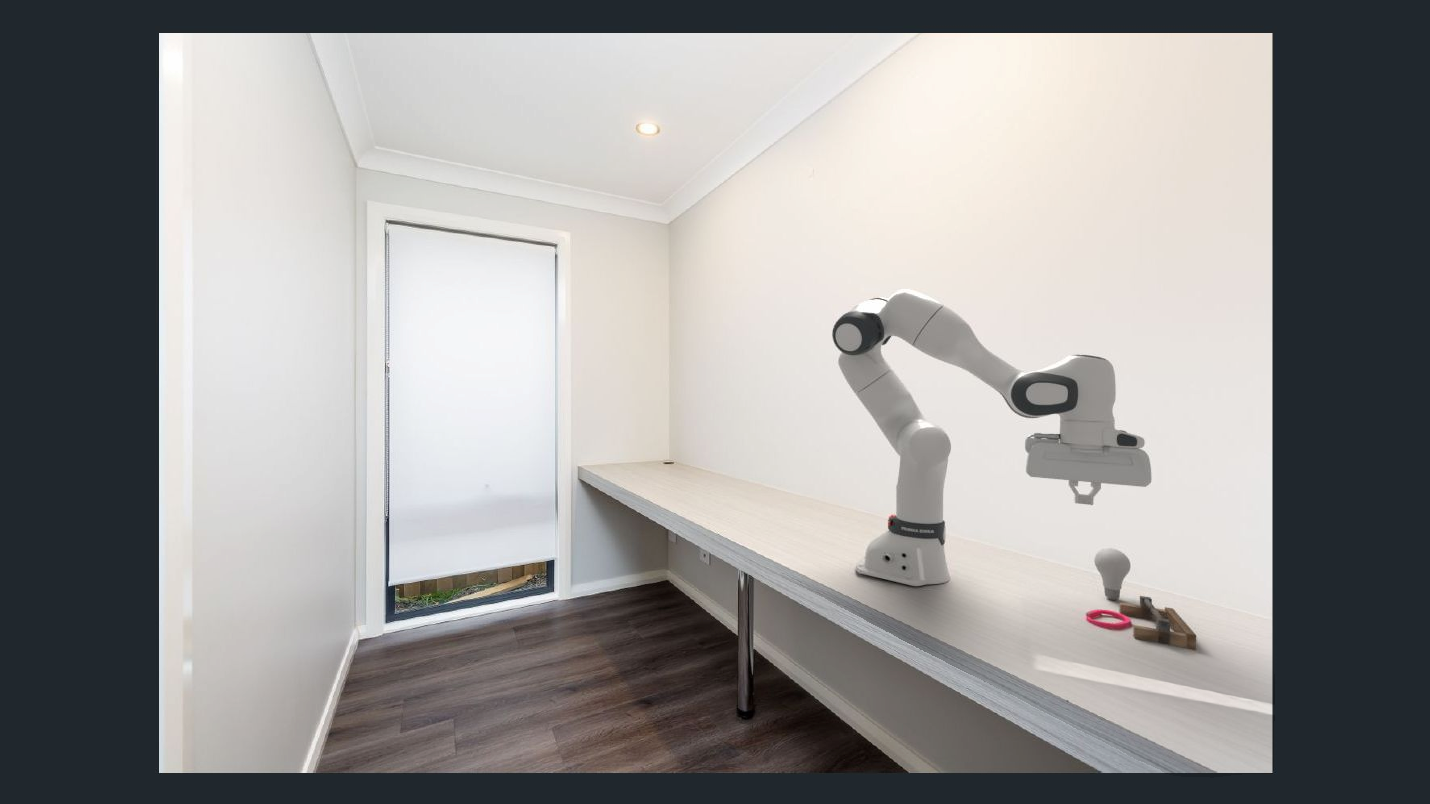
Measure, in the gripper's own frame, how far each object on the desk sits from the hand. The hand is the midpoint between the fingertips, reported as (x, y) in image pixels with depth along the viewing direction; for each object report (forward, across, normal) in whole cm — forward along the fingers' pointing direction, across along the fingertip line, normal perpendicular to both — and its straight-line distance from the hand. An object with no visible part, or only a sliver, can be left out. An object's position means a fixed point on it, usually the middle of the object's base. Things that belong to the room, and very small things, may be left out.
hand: (1083, 503), depth 101 cm
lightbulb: (+22, +7, +12) cm, 26 cm away
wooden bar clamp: (+22, +10, -2) cm, 24 cm away
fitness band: (+23, +4, -2) cm, 23 cm away
